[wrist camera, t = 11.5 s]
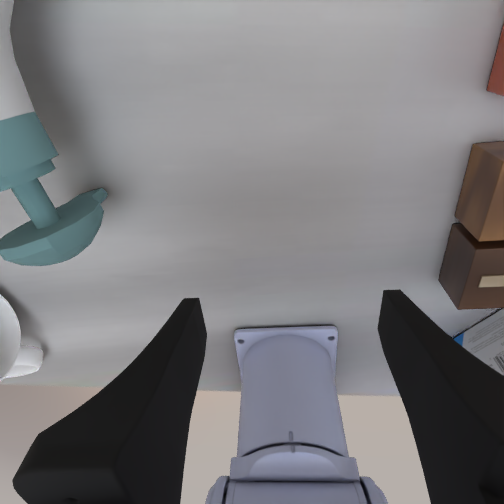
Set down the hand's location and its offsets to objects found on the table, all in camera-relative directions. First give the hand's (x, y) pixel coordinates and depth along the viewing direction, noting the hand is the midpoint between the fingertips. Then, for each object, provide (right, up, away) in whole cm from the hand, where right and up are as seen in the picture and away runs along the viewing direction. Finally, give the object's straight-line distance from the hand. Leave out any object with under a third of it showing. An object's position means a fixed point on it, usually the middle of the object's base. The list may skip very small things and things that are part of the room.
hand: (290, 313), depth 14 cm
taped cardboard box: (+13, +2, +9) cm, 16 cm away
